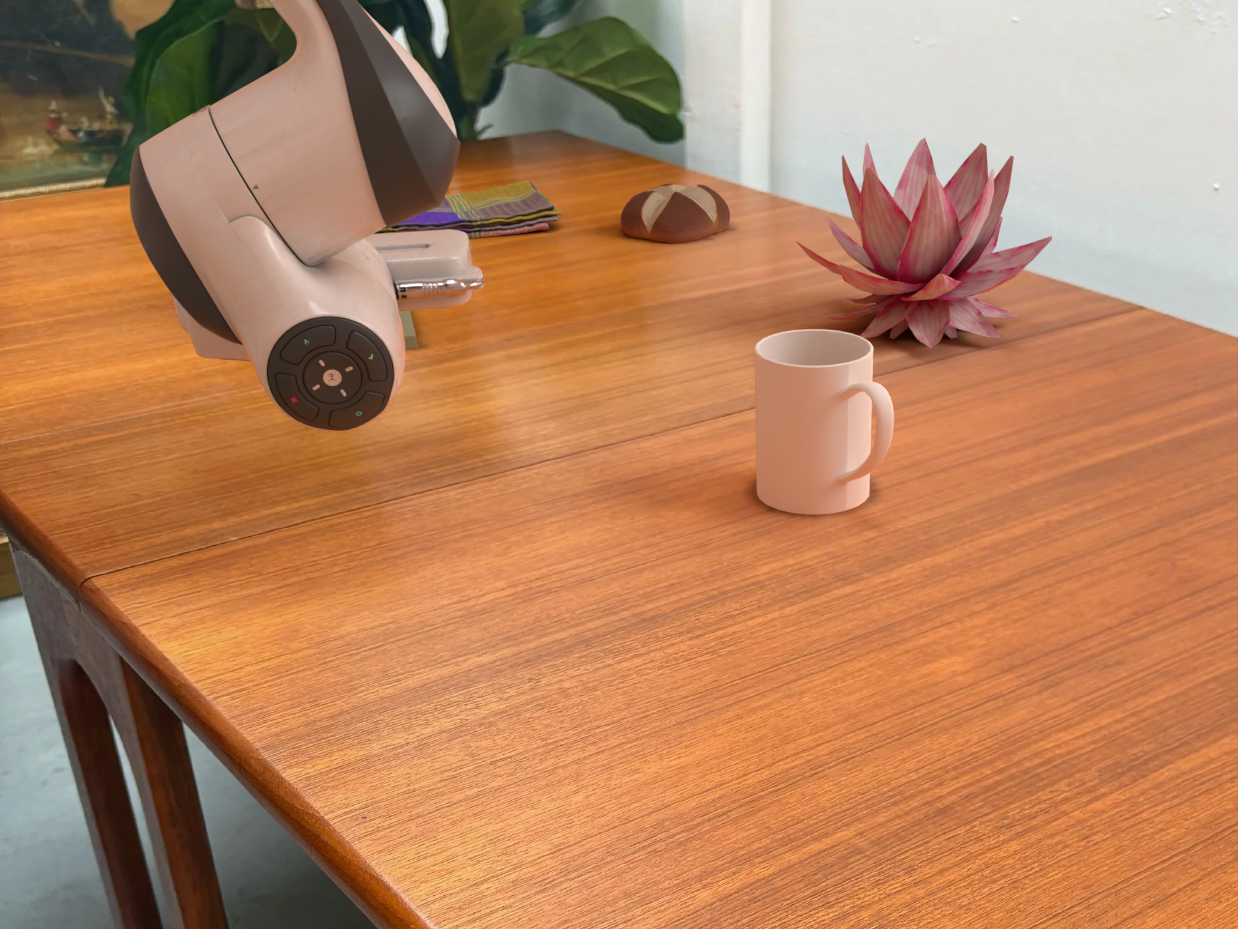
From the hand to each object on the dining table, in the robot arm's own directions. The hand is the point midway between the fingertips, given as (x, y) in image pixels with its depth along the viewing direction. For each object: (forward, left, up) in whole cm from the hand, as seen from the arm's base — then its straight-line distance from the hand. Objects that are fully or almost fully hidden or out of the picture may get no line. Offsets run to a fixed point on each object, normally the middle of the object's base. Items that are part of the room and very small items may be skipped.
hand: (321, 245), depth 108 cm
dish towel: (+12, +63, -14) cm, 66 cm away
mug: (+31, -24, -14) cm, 42 cm away
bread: (+36, +52, -14) cm, 65 cm away
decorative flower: (+50, +11, -14) cm, 53 cm away
